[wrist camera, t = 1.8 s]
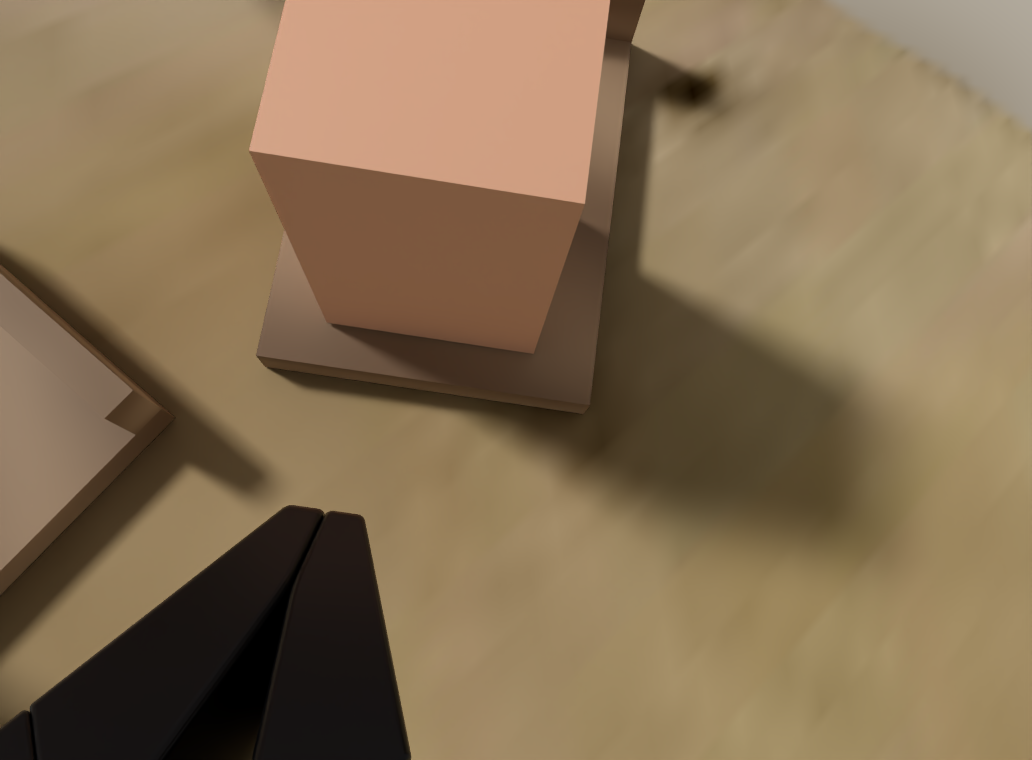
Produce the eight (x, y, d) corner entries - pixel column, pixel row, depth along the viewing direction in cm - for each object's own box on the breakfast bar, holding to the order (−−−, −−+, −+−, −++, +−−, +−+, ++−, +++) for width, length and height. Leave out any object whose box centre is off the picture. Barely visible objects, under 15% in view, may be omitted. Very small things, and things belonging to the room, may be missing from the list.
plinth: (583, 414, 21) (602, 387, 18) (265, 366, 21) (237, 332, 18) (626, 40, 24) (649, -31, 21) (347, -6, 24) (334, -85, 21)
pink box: (533, 353, 20) (584, 204, 12) (326, 322, 20) (248, 150, 12) (554, 196, 21) (614, -33, 14) (358, 165, 21) (306, -85, 13)
